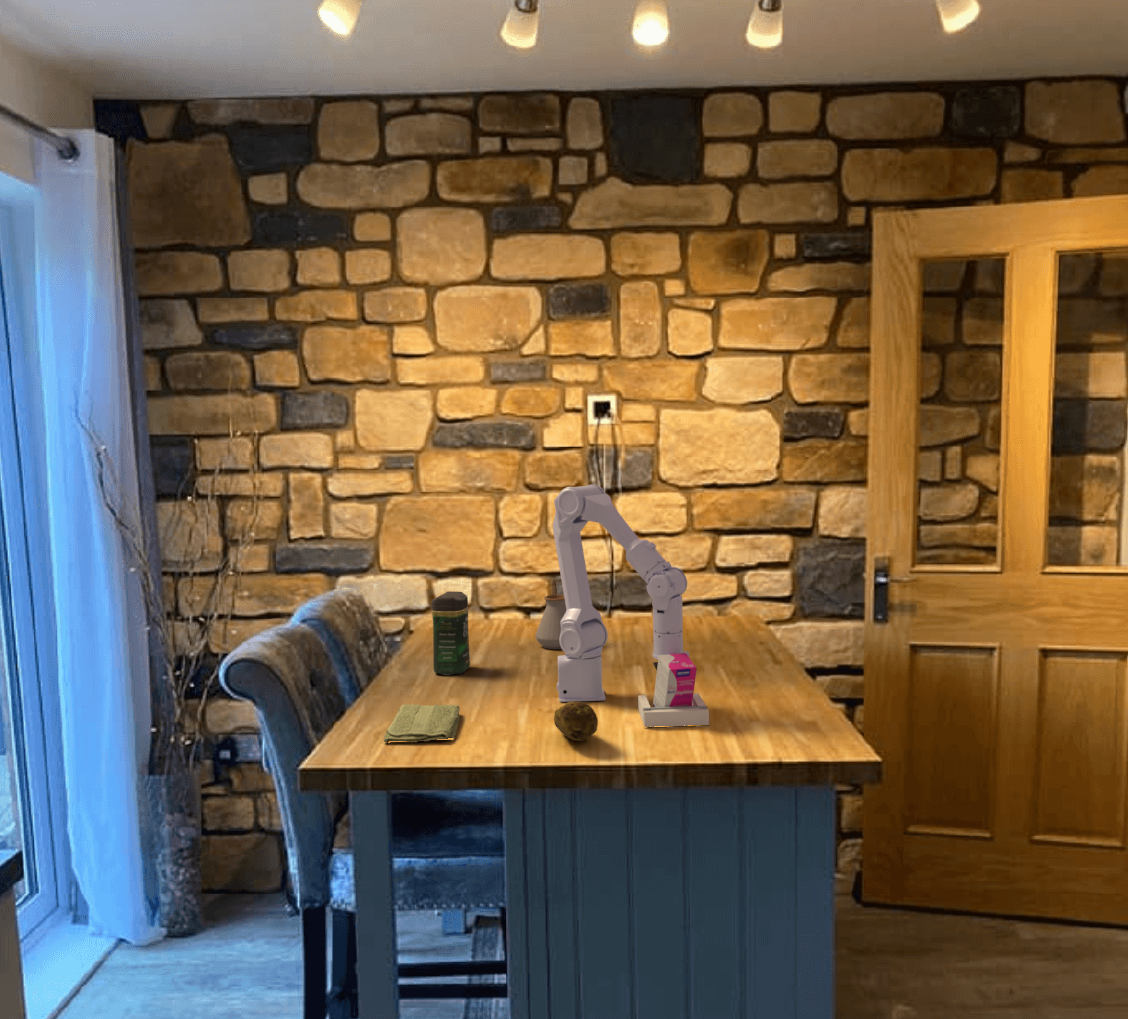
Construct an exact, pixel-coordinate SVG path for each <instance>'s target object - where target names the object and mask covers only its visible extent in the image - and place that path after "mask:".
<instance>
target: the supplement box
mask: <svg viewBox="0 0 1128 1019" xmlns="http://www.w3.org/2000/svg"><path fill="white" fill-rule="evenodd" d="M673 661H674V662H678V661H679V663H668V662H673ZM657 662H658V667H657V670H656V677H655V684H654V693H653V702H652V705H653V707H682V706H692V700H693V694H695V693H694V692H695V684H696V677H697V669H698V668H697V666H696V664H695V663H694V662H693V661H692V660H691V658H690V656H689V657H688V655H687V654H686V653H680V654H667V655H659V658H658V660H657Z"/></svg>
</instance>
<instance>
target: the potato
mask: <svg viewBox="0 0 1128 1019" xmlns="http://www.w3.org/2000/svg"><path fill="white" fill-rule="evenodd" d="M598 718H599V717H598V716H597V713H596V712H595V710H594V709H593V708H592V706H591V705H590V704H588V703H587V702H583V701H573V702H565V704H564V705H562V706H560V707H559V708H557V709H555V711H554V716H553V720H554V721H553V722H554V726H555V727H556V728H557V729H558V730H559V732H560V733H561V734H563V735H564V736H565V737H567V738H568V739H570V740H573V741H575V740H576V742H583V741H584V740H585V741H587V740H589V739H590V738H591V737H592V736H593V735H594V734H595V733H596V732H597V731H598V725H599V719H598Z"/></svg>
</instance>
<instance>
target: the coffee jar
mask: <svg viewBox="0 0 1128 1019" xmlns="http://www.w3.org/2000/svg"><path fill="white" fill-rule="evenodd" d="M431 614H432V615H431V616H432V638H433V641H432V642H433V643H432V644H433V648H432V649H433V650H432V652H433V656H432V658H433V660H432V661H433V663H432V664H433V666H432V667H433V672H434V673H435V674H441V675H442V676H452V675H454V674H457V675H458V674H463V673H464V672H465V671H467V670H468V669H469V668H470V665H471V661H470V660H471V657H470V639H469V597H468V595H466V593H463V591H445V593H442V594H440V595H438V596H436V597H434V598H432V600H431Z"/></svg>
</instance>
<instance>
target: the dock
mask: <svg viewBox="0 0 1128 1019" xmlns="http://www.w3.org/2000/svg"><path fill="white" fill-rule="evenodd" d="M637 697H638V698H637V701H638V702H637V706H638V707H637V708H638V710H639V711H638V713H640V714H639V716H640V719H641V722H642V721H643V722H642V725H643V724H644V725H643V727H644V726H645V727H650V726H651V727H654V726H684V725H685V726H688V725H709V726H710V711H709V708H708V705H706V703H705V702H704V700H703V698H702V697H701V695H700V693H697V692H696V693H693V700H692V706H682V707H654V706H653V707H651V705H650V702H649V699H648V698H647V695H646V694H642V695H641V694H640V695H639V694H638V695H637Z"/></svg>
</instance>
